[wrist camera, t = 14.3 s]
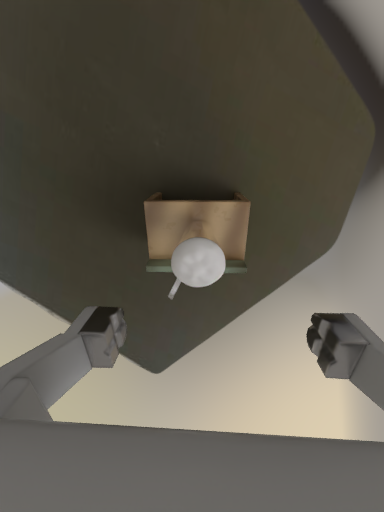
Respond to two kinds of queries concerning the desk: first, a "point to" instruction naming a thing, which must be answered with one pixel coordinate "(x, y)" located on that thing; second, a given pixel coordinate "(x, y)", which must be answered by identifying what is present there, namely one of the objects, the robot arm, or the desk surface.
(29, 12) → the desk surface
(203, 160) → the desk surface
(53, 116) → the desk surface
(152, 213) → the bench
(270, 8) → the desk surface
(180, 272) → the milkshake
